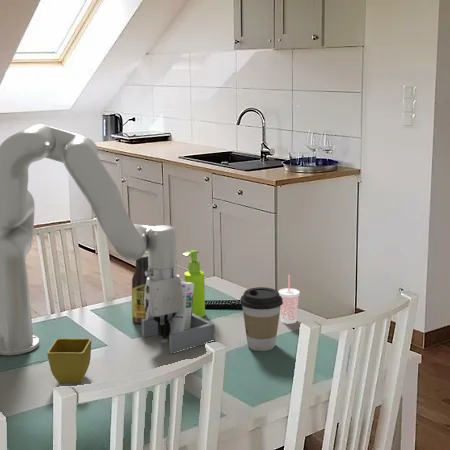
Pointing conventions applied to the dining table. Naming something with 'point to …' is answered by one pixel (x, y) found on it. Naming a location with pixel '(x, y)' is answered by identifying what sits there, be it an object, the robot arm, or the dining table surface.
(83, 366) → the flower pot
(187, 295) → the syrup box
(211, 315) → the dining table surface
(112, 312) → the dining table surface
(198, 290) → the soap dispenser
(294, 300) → the beverage cup
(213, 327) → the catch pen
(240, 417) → the dining table surface
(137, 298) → the sauce bottle
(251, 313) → the coffee cup
